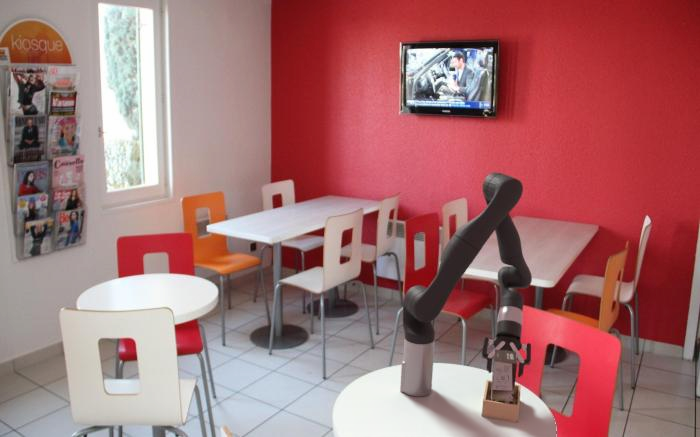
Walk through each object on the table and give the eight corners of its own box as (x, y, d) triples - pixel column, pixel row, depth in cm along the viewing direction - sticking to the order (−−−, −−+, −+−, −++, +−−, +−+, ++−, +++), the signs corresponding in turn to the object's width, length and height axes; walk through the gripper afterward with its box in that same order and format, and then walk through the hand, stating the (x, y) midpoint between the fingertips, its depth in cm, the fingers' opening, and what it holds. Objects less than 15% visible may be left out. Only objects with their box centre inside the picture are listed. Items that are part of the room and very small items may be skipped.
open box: (481, 416, 183) (483, 400, 182) (485, 394, 196) (486, 380, 195) (517, 422, 181) (519, 406, 180) (519, 400, 193) (520, 385, 192)
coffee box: (512, 415, 183) (517, 364, 180) (489, 412, 185) (494, 361, 181) (511, 400, 192) (516, 350, 188) (490, 397, 193) (494, 348, 190)
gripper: (486, 316, 194) (479, 366, 186) (534, 322, 190) (529, 373, 182) (486, 325, 201) (480, 374, 192) (532, 332, 197) (528, 382, 189)
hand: (504, 374), depth 187 cm, fingers open, 8 cm apart
